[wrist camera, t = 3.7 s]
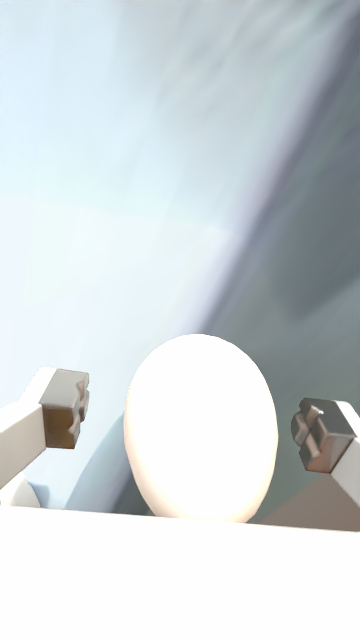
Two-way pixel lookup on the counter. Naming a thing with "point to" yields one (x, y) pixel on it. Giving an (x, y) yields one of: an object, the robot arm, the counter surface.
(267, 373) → the counter surface
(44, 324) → the counter surface
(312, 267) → the counter surface
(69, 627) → the robot arm
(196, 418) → the egg
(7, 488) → the plate stack
